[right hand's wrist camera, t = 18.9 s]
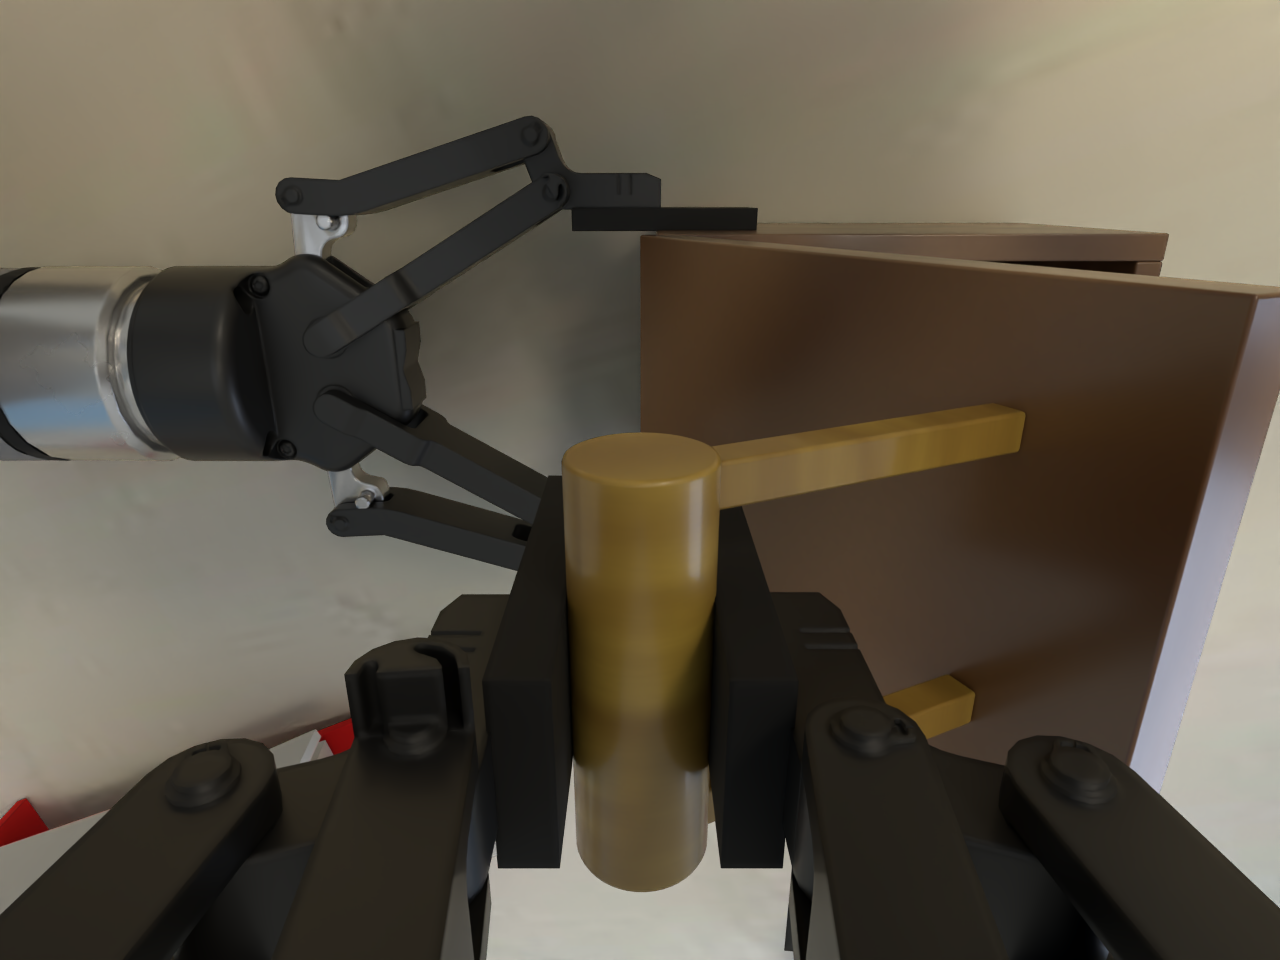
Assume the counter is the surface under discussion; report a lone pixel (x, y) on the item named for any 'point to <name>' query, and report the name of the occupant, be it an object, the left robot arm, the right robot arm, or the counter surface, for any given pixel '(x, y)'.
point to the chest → (972, 242)
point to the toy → (25, 847)
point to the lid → (908, 506)
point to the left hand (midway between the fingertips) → (744, 365)
